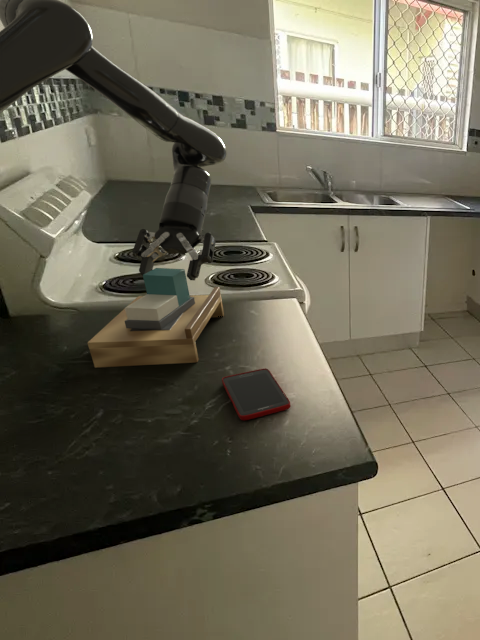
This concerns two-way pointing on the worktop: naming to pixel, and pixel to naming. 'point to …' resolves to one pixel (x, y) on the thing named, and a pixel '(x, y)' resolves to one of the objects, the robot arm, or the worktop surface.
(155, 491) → the worktop surface
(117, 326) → the shoe shelf
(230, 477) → the worktop surface
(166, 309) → the trainer
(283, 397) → the cell phone
